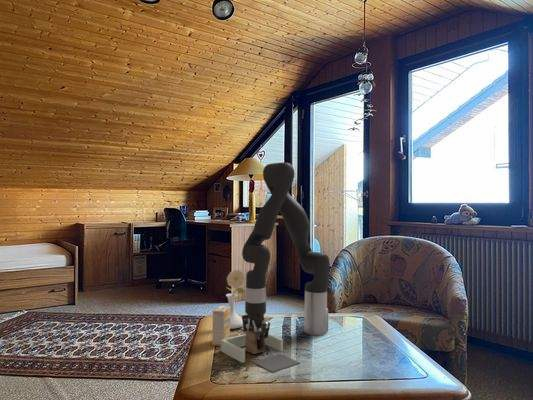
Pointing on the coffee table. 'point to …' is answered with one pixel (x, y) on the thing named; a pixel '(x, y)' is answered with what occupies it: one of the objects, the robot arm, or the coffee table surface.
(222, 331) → the supplement box
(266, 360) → the charcoal mat
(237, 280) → the flower in vase
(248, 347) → the walnut block
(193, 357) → the coffee table surface
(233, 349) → the open-side box
